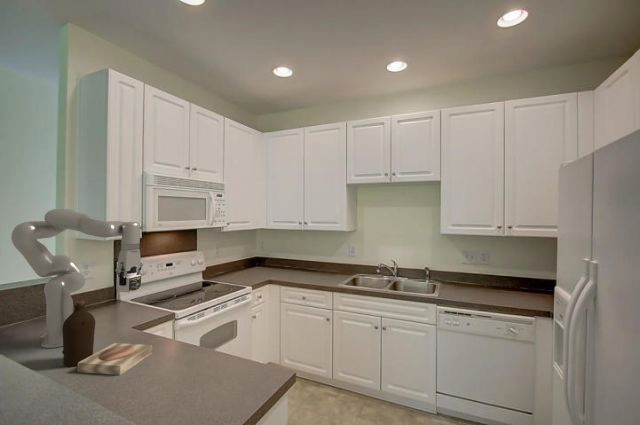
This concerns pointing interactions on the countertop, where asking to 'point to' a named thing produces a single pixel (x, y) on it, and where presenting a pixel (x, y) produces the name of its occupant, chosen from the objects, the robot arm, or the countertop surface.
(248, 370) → the countertop surface
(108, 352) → the stand
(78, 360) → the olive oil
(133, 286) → the medicine bottle
